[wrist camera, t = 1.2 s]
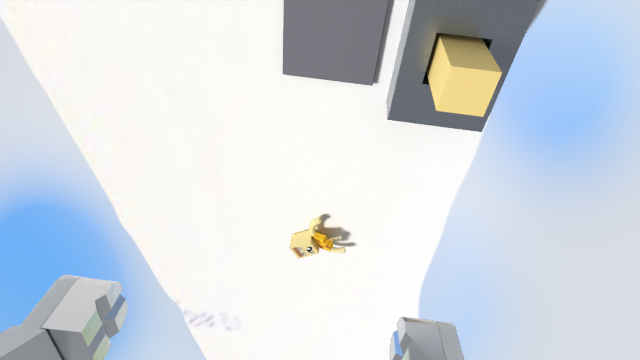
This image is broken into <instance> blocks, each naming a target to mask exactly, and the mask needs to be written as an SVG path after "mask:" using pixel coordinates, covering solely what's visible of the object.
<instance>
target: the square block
mask: <svg viewBox="0 0 640 360" xmlns="http://www.w3.org/2000/svg"><path fill="white" fill-rule="evenodd" d="M426 72H427V76H428V80H429V84H430V88H431V92H432V96H433V100H434V104H435V108H436V111H442V112H450V113H458V114H465V115H473V116H481V117H483V116H484V114H485V112H486V109H487V107H488V105H489V102H490V100H491V98H492V95H493V93H494V91H495V88H496V86H497V84H498V81H499V79H500V77H501V74H502V71H501V70H500V68H499V66H498V65H497V63H496V61H495V60H494V58H493V56H492V55H491V53H490V52H489V50H488V48H487V47H486V45H485V43H484V42H483V40H482V38H477V37H469V36H461V35H453V34H445V33H436V37H435V40H434V44H433V47H432V51H431V54H430V58H429V61H428V65H427V68H426Z"/></svg>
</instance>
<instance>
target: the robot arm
mask: <svg viewBox="0 0 640 360" xmlns="http://www.w3.org/2000/svg"><path fill="white" fill-rule="evenodd" d="M122 290H123V289H122V286H121V284H120V282H115V281H107V280H99V279H92V278H85V277H79V276H71V275H63V276H61V277H60V278H58V279H57V280H56V281H55V283H54V284H53V285H52V286H51V288H50V289H49V290H48V291H47V293H46V294H45V295H44V296H43V298H42V299H41V300H40V301H39V303H38V304H37V305H36V307H35V308H34V309H33V310H32V311H31V313H30V314H29V315H28V316H27V317H26V319H25V320H24V321H23V323H22V324H21V325H20V326H12V327H11V328H9V329H7V330H6V331H4V332H2V333H0V360H104V358H105V356H106V354H107V353H108V351H109V349H110V347H111V345H110V339H109V338H111V337H112V336H114V335H115V334H116V333H118V332H119V331H120V329H121V327H122V324H123V323H124V320H125V317H126V313H127V303H126V299H125V298H123V297H122V296H121V295H120V293H121V292H122ZM397 327H398V330H397V331H395V332H393V335H392V338H391V343H390V360H464V357H463V353H462V350H461V346H460V342H459V339H458V335H457V331H456V328H455V326H454V325H453V324H452V323H448V322H438V321H434V320H425V319H416V318H407V317H401V318H400V319H399V321H398V323H397Z"/></svg>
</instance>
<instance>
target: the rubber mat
mask: <svg viewBox="0 0 640 360" xmlns="http://www.w3.org/2000/svg"><path fill="white" fill-rule="evenodd" d="M388 1H389V0H284V29H283V74H285V75H293V76H301V77H309V78H317V79H325V80H332V81H340V82H348V83H356V84H364V85H373V79H374V74H375V69H376V64H377V58H378V53H379V48H380V43H381V37H382V32H383V27H384V22H385V16H386V11H387V6H388Z"/></svg>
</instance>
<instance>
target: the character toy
mask: <svg viewBox="0 0 640 360" xmlns="http://www.w3.org/2000/svg"><path fill="white" fill-rule="evenodd" d="M320 223H321V219H320V217H319V218H316V219H314V220H313V221H312V222H311V223H310V226H309V230H306V231H303V232H299V233H296V234H292V237H291V244H290V249H291V250H292V251H293V253H294V254H295V255H296V256H297V257H298V258H302V257H306V256H310V255H314V254H317V253H319V247H320V248H322V249H325V250H327V251H330V252H334V253H344V252H346V250H345V247H341V248H337V247H333V244H334V243H333V241H335V240H340V239H342V236H338V237H334V238H330V239H326V237H327V236H326V235H323V234H320V233H318V232H316V230H315V227H316V225H318V224H320Z"/></svg>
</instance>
